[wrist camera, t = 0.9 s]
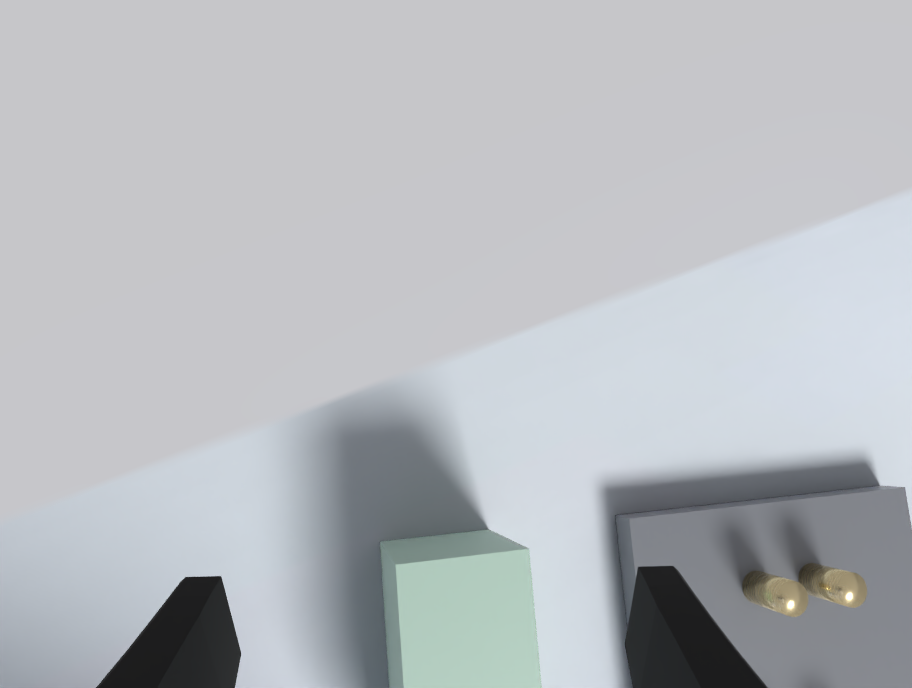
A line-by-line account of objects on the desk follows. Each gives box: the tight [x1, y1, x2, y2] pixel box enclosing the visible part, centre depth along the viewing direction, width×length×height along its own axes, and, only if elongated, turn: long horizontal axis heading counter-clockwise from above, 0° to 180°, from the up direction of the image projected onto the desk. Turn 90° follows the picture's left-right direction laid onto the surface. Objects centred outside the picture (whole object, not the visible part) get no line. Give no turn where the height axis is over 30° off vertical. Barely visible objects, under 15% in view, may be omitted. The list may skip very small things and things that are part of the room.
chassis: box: [615, 486, 912, 688], centre depth 25 cm, size 12×12×3 cm
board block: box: [380, 529, 542, 688], centre depth 22 cm, size 8×4×5 cm, turn 4°
